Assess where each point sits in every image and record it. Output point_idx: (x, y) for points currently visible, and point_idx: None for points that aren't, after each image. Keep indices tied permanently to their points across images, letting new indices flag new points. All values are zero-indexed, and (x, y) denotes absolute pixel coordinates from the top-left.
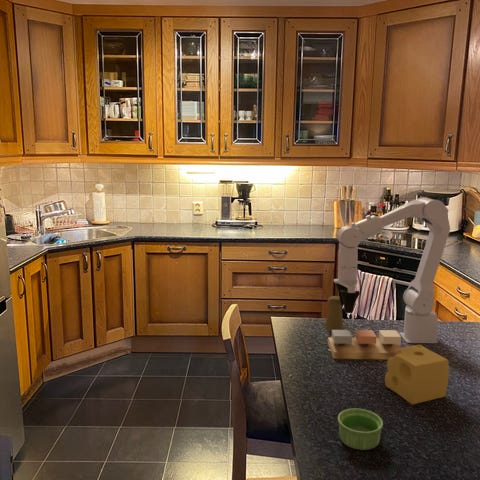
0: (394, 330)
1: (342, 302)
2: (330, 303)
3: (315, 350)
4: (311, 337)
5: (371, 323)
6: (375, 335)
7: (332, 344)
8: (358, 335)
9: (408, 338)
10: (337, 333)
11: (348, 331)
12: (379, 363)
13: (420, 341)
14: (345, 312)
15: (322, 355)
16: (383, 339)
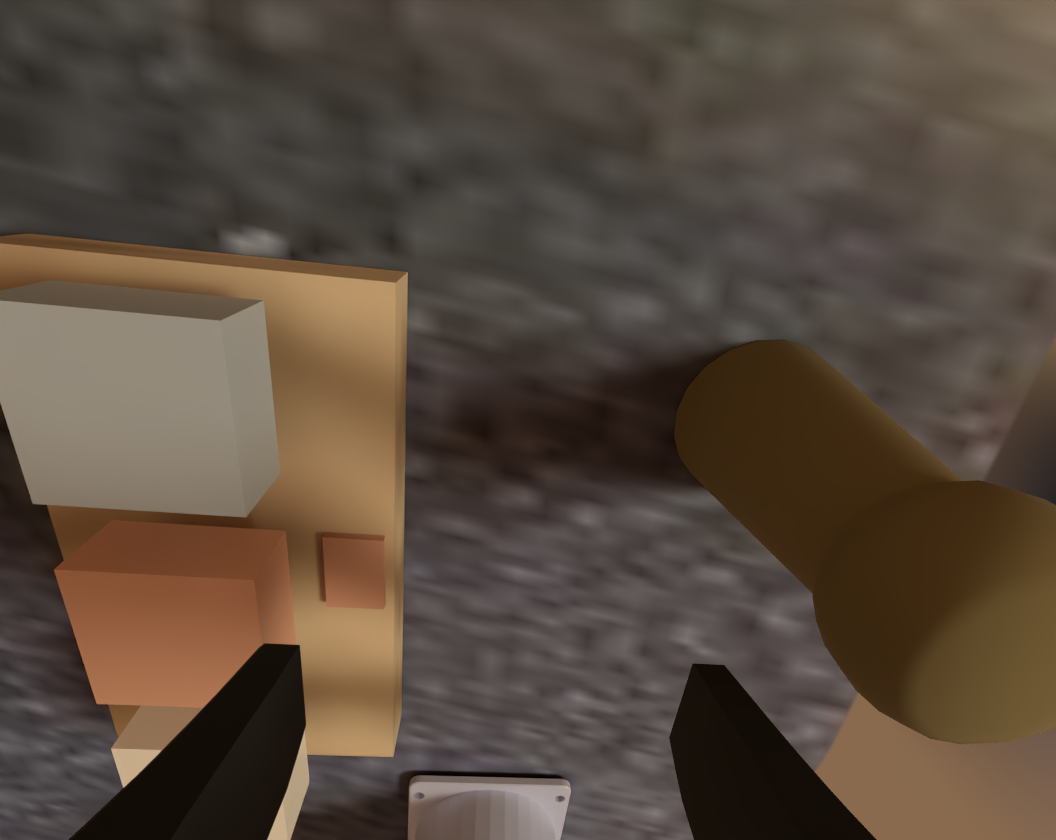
0: (284, 836)
1: (705, 719)
2: (921, 527)
3: (214, 81)
4: (582, 127)
5: (785, 689)
6: (125, 702)
7: (191, 278)
8: (86, 570)
9: (446, 804)
10: (90, 361)
11: (192, 503)
12: (43, 560)
13: (413, 835)
14: (257, 650)
15: (90, 131)
16: (129, 722)
